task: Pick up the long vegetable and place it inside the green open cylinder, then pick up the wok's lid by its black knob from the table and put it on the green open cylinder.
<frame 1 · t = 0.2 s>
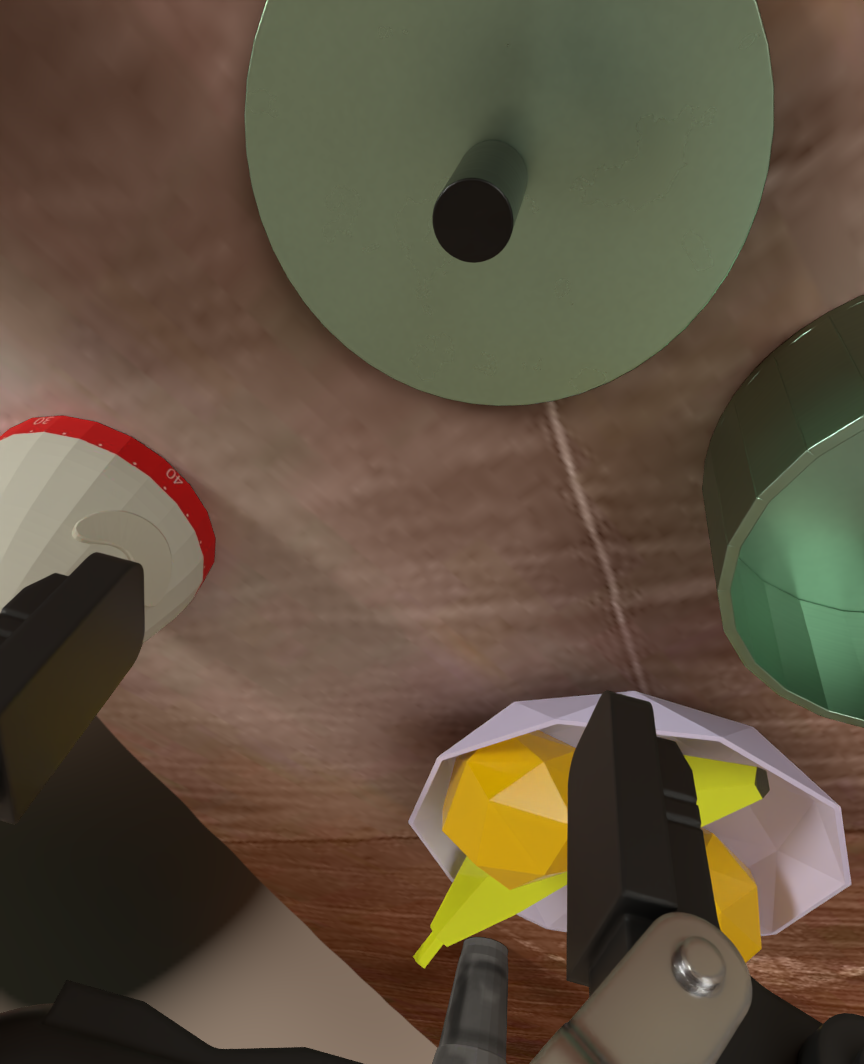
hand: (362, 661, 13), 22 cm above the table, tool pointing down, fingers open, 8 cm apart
kitchen timer: (106, 514, 44), on the table
wok lid: (494, 174, 27), point 1 cm above the table
fruit bowl: (601, 769, 51), on the table
beverage cup: (486, 945, 74), on the table
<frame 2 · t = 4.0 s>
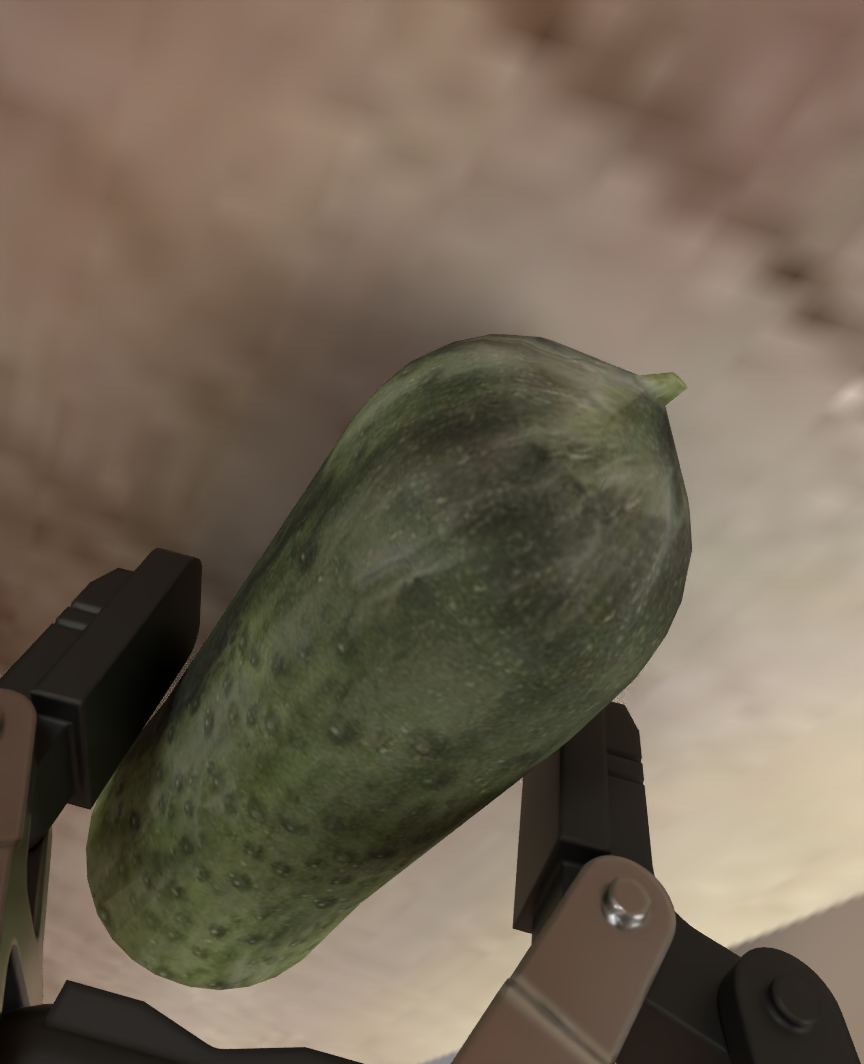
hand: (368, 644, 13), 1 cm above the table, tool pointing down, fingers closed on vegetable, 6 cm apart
vegetable: (386, 602, 14), on the table, touching gripper
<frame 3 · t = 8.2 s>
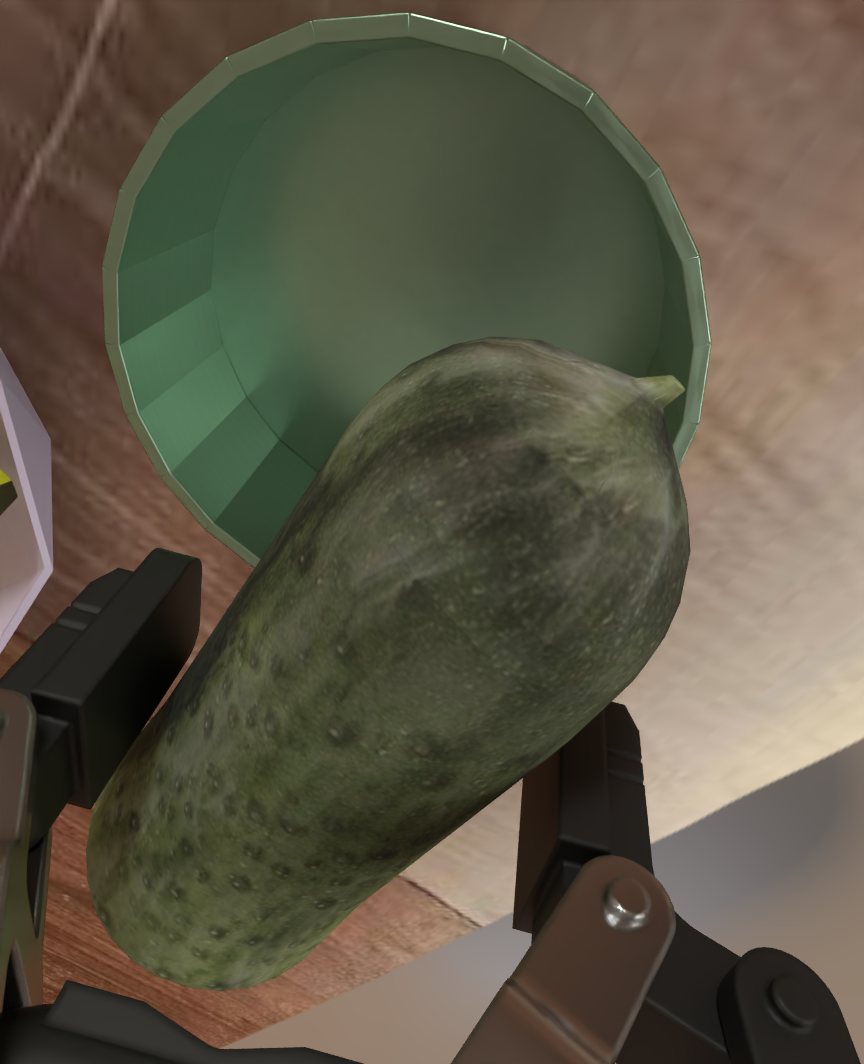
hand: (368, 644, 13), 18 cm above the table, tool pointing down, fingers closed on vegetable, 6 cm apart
green open cylinder: (430, 312, 28), on the table
vegetable: (386, 604, 14), point 17 cm above the table, touching gripper
when the fingers open (2 cm above the table, at t = 12.8 s): vegetable stays where it is, resting on green open cylinder.
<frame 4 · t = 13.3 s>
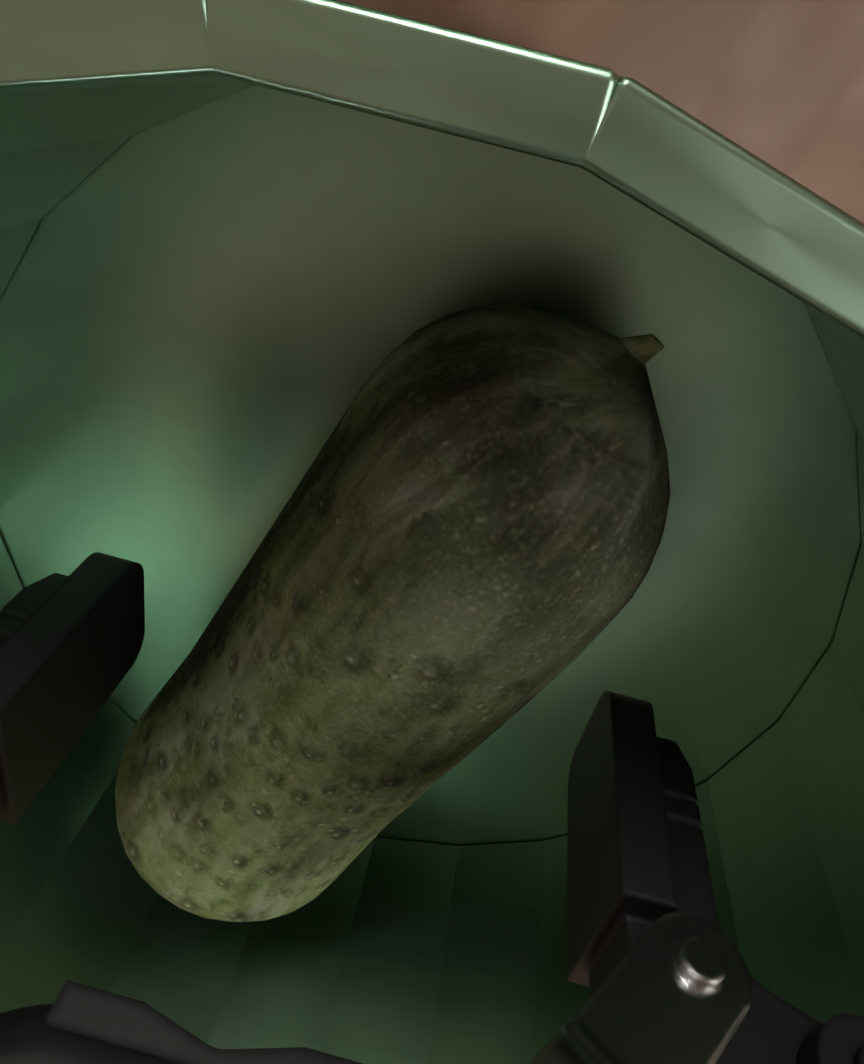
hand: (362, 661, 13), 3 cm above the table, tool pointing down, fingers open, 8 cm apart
green open cylinder: (394, 559, 15), on the table
vegetable: (392, 565, 15), resting on green open cylinder
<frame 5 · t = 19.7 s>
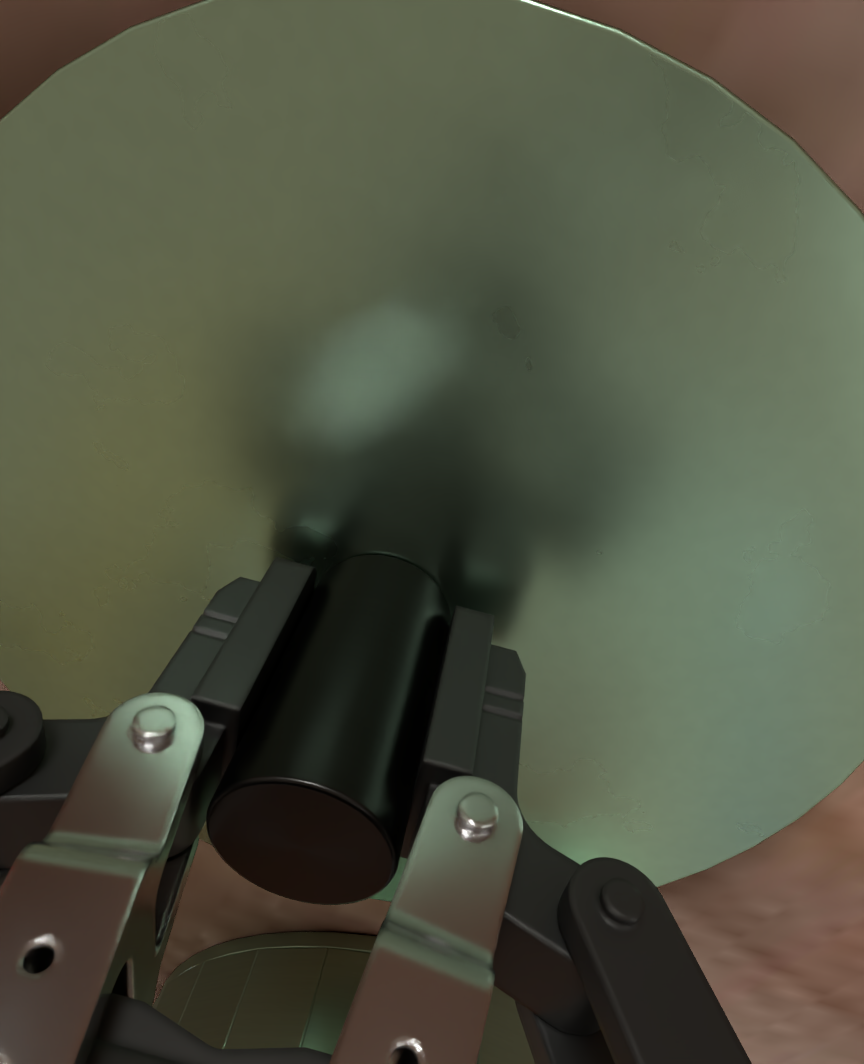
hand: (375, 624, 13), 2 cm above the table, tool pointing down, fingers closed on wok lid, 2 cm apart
wok lid: (389, 591, 14), point 1 cm above the table, touching gripper
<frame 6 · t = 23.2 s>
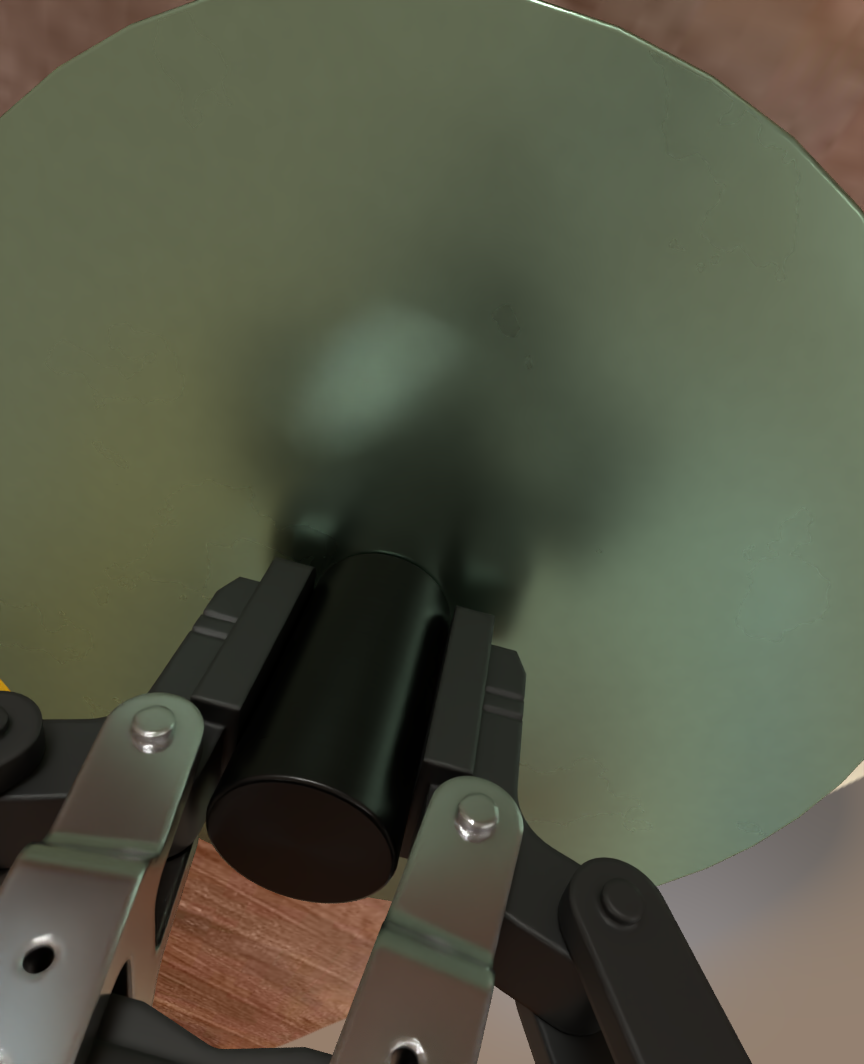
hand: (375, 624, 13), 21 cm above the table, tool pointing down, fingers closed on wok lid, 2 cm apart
wok lid: (389, 590, 14), point 20 cm above the table, touching gripper
when the fingers open (9 cm above the table, at t = 27.0 s): wok lid stays where it is, resting on green open cylinder.
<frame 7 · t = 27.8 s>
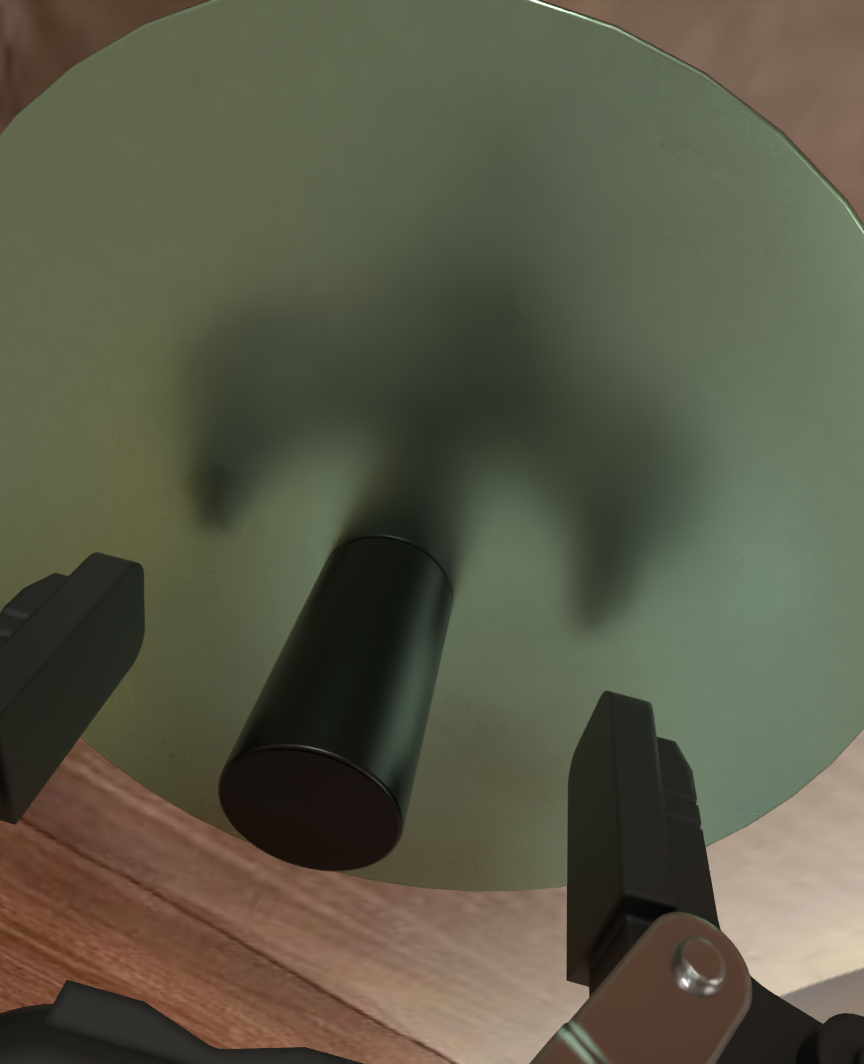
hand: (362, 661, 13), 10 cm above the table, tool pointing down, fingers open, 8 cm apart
wok lid: (392, 575, 15), point 7 cm above the table, touching green open cylinder
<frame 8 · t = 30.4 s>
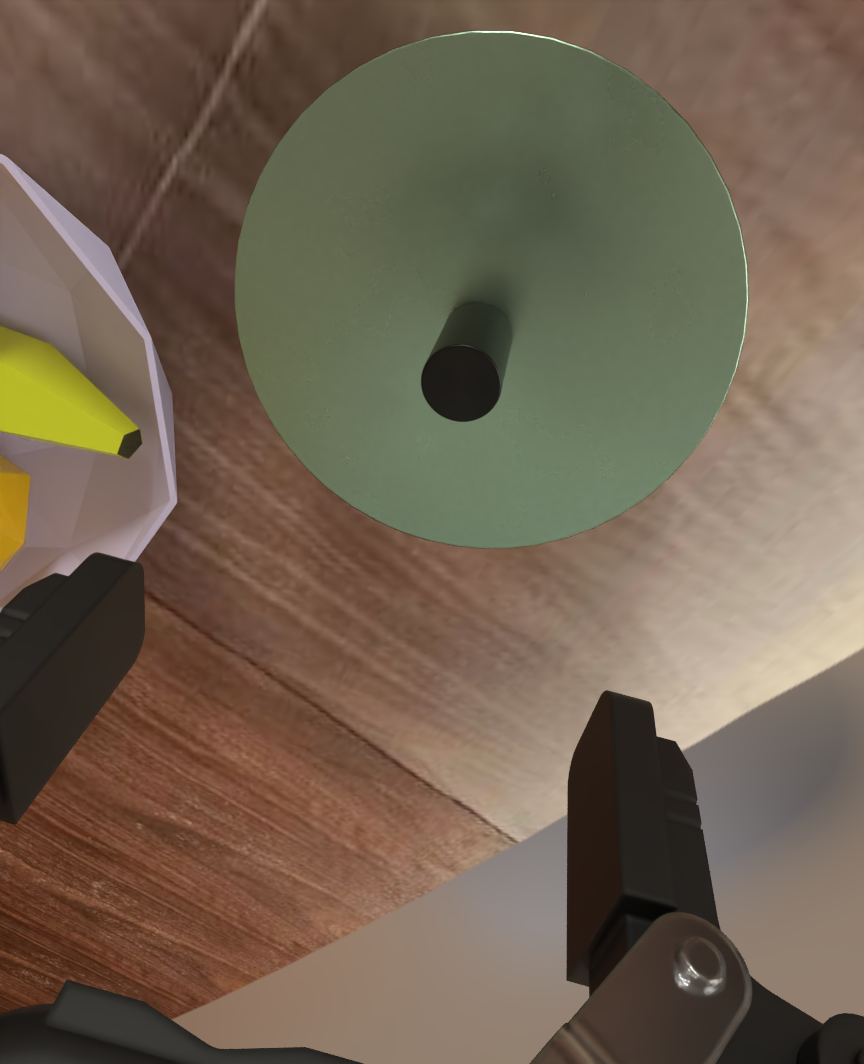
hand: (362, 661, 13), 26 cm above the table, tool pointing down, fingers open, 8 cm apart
wok lid: (479, 332, 28), point 7 cm above the table, touching green open cylinder
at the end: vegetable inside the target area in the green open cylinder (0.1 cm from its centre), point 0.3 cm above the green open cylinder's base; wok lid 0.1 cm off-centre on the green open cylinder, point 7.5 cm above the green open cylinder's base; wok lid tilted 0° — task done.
